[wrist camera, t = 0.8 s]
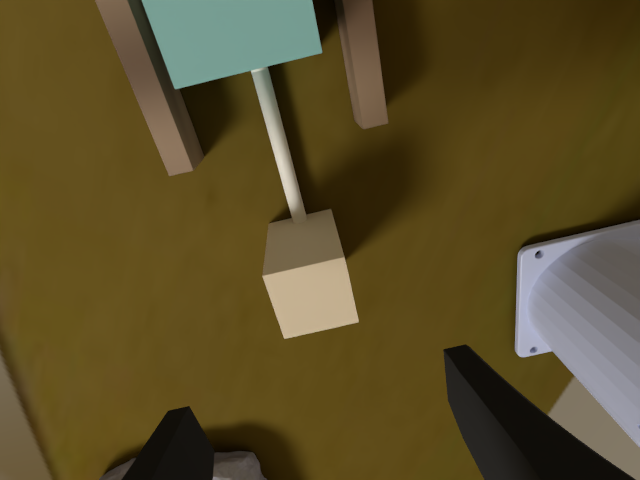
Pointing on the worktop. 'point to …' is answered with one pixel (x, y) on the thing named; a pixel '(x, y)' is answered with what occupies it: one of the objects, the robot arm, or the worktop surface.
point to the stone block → (229, 468)
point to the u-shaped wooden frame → (167, 102)
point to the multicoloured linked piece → (255, 55)
